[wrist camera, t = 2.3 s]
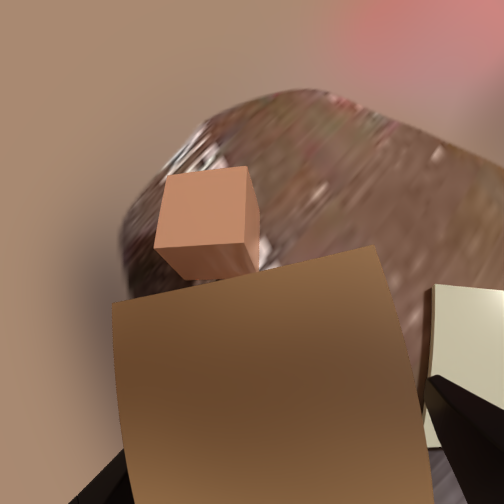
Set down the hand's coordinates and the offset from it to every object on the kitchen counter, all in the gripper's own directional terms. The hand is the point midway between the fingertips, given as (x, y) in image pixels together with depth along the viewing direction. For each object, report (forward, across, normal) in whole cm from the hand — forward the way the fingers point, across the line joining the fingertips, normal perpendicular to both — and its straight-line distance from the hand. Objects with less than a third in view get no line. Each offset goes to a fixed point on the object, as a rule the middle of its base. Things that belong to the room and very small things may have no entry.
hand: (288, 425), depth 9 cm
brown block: (+7, 0, +6) cm, 9 cm away
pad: (+5, -13, +7) cm, 16 cm away
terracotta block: (+14, +3, -2) cm, 15 cm away
